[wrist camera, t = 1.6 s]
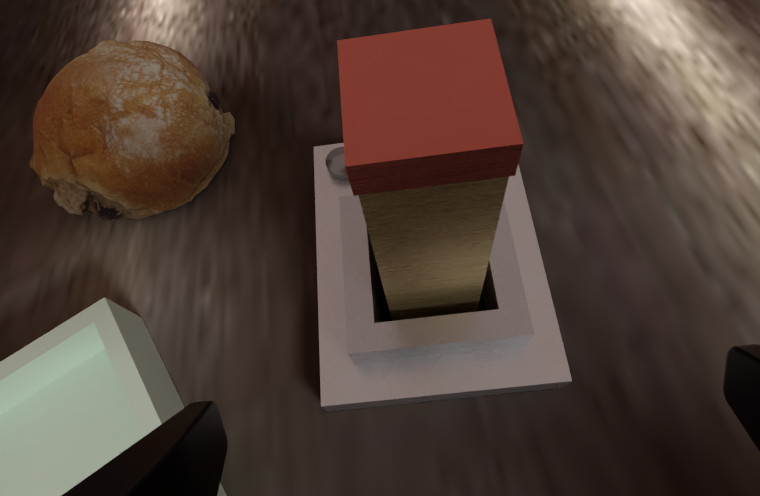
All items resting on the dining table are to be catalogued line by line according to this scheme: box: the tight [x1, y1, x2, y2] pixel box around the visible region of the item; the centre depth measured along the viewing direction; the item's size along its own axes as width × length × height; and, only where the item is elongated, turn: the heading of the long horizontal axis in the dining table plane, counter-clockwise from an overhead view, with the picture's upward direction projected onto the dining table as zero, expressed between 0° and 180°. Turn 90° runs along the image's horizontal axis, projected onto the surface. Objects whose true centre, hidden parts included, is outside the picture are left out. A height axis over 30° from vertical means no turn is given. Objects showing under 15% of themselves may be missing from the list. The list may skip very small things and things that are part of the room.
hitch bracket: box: [314, 143, 572, 411], centre depth 22 cm, size 13×10×4 cm
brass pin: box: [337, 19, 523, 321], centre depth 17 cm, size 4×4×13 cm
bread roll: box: [30, 40, 235, 221], centre depth 27 cm, size 10×10×8 cm
